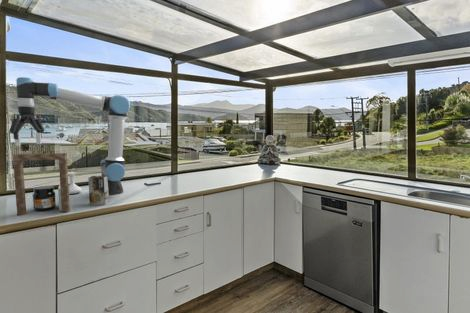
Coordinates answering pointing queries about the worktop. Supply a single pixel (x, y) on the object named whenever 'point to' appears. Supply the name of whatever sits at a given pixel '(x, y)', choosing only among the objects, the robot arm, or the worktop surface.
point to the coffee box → (98, 190)
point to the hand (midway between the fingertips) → (28, 144)
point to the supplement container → (44, 198)
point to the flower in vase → (72, 180)
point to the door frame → (20, 178)
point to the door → (59, 198)
